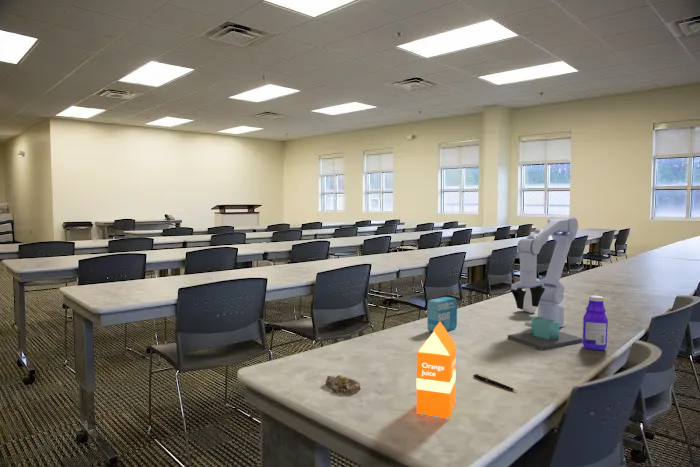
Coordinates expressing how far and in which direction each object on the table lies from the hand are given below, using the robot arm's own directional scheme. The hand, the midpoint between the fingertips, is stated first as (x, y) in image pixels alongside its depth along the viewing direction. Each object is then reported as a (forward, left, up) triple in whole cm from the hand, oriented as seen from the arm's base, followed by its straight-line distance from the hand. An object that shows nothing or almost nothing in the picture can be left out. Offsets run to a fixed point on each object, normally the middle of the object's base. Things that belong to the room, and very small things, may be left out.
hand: (527, 307), depth 174 cm
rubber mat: (+2, +10, -9) cm, 14 cm away
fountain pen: (+46, +33, -10) cm, 58 cm away
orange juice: (+69, +38, -10) cm, 79 cm away
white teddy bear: (-25, -22, -10) cm, 35 cm away
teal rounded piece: (+2, +9, -8) cm, 12 cm away
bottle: (-5, +24, -10) cm, 26 cm away
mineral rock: (+83, +16, -10) cm, 85 cm away
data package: (+26, -17, -10) cm, 33 cm away
